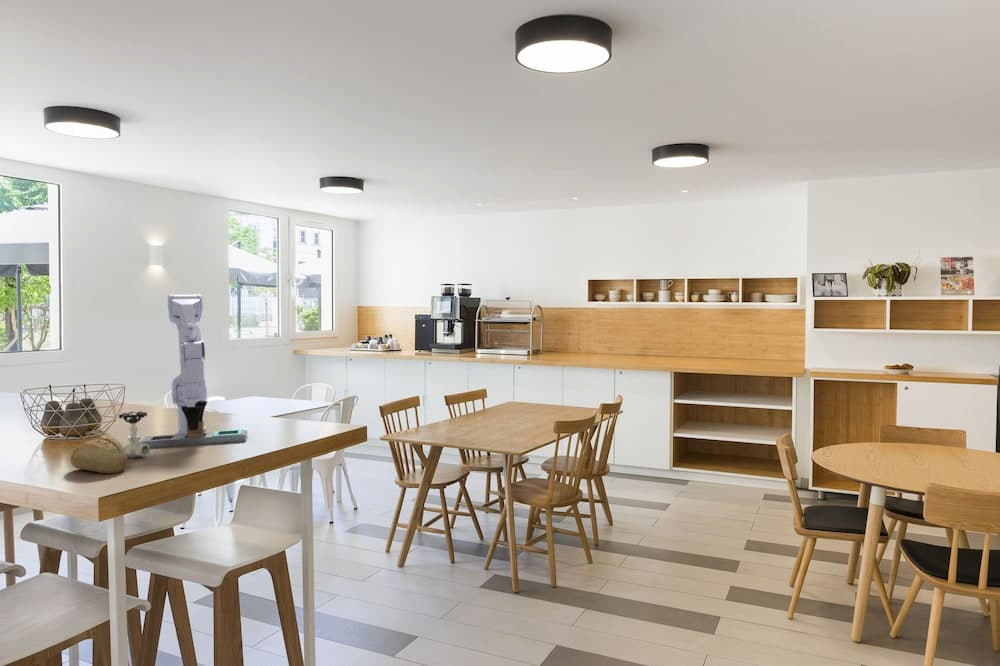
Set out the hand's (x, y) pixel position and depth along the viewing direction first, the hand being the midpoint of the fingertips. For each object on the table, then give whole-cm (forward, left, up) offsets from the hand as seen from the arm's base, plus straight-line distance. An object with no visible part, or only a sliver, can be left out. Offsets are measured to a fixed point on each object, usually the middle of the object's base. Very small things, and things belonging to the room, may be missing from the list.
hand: (195, 428), depth 203 cm
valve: (+16, -13, -5) cm, 21 cm away
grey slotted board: (0, 0, -4) cm, 4 cm away
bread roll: (+29, -18, -5) cm, 34 cm away
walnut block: (0, 0, -4) cm, 4 cm away
